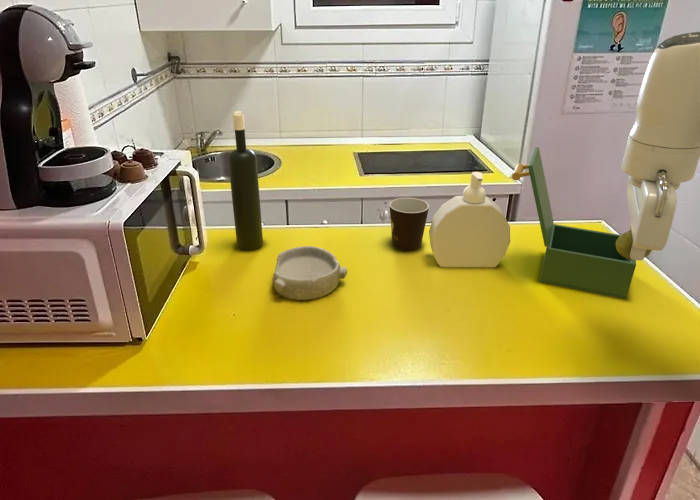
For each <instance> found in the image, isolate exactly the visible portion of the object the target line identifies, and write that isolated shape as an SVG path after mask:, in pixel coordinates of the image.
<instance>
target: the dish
mask: <svg viewBox="0 0 700 500" xmlns="http://www.w3.org/2000/svg"><path fill="white" fill-rule="evenodd" d="M347 275H348V269H347V267H346V266H343V267H342V266H341V265H340V263H339V261H338V259H337V258H336V256H335V255H334V254H333V253H332V252H331V251H329V250H326V249H325V248H320V247H318V246H314V245H313V246H311V245H305V246H296V247H292V248H288V249H286V250H283V251H281V252H280V253H278V255H277V258H276V264H275V268H274V272H273V276H272V283H273V287H274V289H275V291H276V292H277V293H278V295H280V296H282V297H283V298H286V299H289V300H296V301H298V300H299V301H308V300H315V299H319V298H321V297H324V296H326V295H329V294H330V293H332V292H333V291H334V290H335V289H336V288H337V287H338V285H339V283H340V280H343V279H345V278H346V277H347Z"/></svg>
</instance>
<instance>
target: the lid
mask: <svg viewBox="0 0 700 500" xmlns="http://www.w3.org/2000/svg"><path fill="white" fill-rule="evenodd" d="M540 151H541V150H540V147H539V146H537V147H534V149H533V150H532V154H531V157H530V159H529V162H528V164H523V163H517V164H516V165H515V168H514V169H513V172H512V175H511V178H512V180H514V181H519V180H520V179H521V178H523V177H529V178H530V182H531V188H532V192H533V193H532V194H533V197H534V202H535V208H536V211H537V217H538V222H539V225H540V231H541V234H542V235H541V236H542V240H543V245H544V247H547V246H549V243H550V238H551V233H552V227H553V224H554V222H555V221H554V216H553V211H552V207H551V202H550V201H551V200H550V196H549V191H548V187H547V181H546V176H545V171H544V166H543V162H542V161H543V160H542V156H541V152H540ZM524 170H528V171H524Z"/></svg>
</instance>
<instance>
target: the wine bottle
mask: <svg viewBox="0 0 700 500" xmlns="http://www.w3.org/2000/svg"><path fill="white" fill-rule="evenodd" d="M232 123H233V130H234V137H235V148H236V149H233V150H231V152H230V153H229V154H228V156H227V163H228V174H229V181H230V192H231V200H232V201H231V203H232V211H233V219H234V220H233V221H234V230H235V240H236V247H237V249H238V250H240V251H243V252H254V251H258V250H260V249H262V248H263V246H264V238H263V223H262V212H261V210H262V209H261V199H260V185H259V173H258V160H257V159H258V158H257V155H256V154H255V152H254V151H253V150H252V149H249V148H247V142H246V140H247V139H246V130H245V129H246V124H245V114H244V113H243V111H242V110H237V111H236V110H233V113H232Z"/></svg>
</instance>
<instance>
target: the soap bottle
mask: <svg viewBox="0 0 700 500" xmlns="http://www.w3.org/2000/svg"><path fill="white" fill-rule="evenodd" d="M483 179H484V178H483V172H480V171H472V172H471V176H470V184H469V185H466V187H465V188H464V189H463V192H462V195H455V196H453V197H452V198H450V199H449V200H447V201H446V202H444V203H442V205H441V206H440V207H439V209H438V210H437V211H436V213H435V214H434V215H433V217H432V220H431V223H430V227H429V230H428V235H429V236H428V237H429V244H430V249H431V252H432V255H433V257H434V259H435V261H436V262H437V264H438V266H439V267H441V268H496V267H497V266H498V265H499V264H500V262H502V261H503V259H504V258H505V257H506V255H507V252H508V249H509V246H510V244H511V226H510V223H509V222H508V220H507V218H506V216H505V214H504V212H503V211H502V209H501V207H500V206H499V205H498V204H497V203H496V202H494V201H493V200H492V199H491V198H490V197H488V196H486V195H487V194H486V192H487V191H486V190H485V188H484V187H482V182H483Z"/></svg>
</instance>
